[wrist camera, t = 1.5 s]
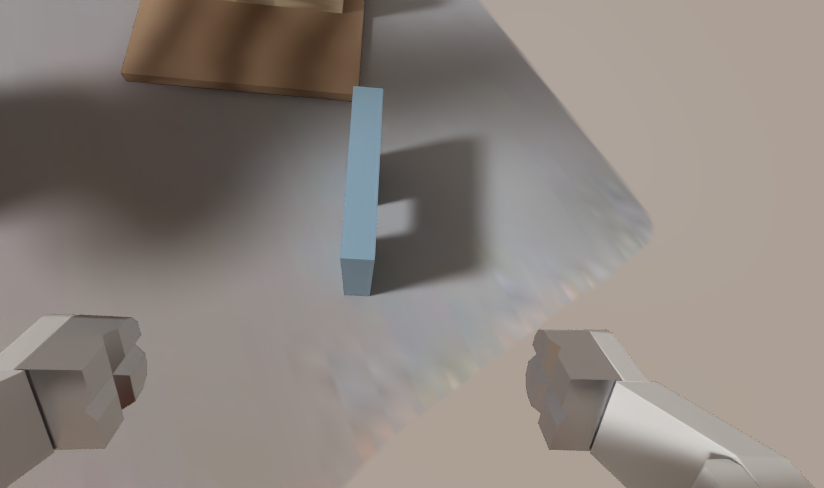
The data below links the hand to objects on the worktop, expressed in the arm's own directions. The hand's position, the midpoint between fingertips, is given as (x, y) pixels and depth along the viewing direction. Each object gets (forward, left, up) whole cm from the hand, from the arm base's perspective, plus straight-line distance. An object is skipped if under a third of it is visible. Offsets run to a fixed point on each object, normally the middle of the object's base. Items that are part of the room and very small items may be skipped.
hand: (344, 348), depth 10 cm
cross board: (-11, +35, -26) cm, 45 cm away
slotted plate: (0, +13, -26) cm, 29 cm away
